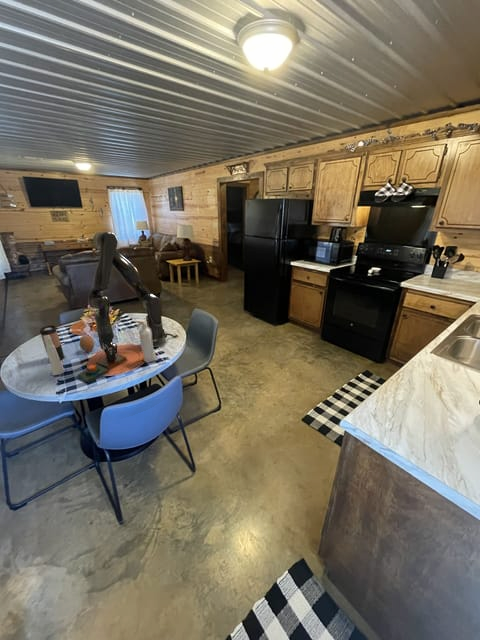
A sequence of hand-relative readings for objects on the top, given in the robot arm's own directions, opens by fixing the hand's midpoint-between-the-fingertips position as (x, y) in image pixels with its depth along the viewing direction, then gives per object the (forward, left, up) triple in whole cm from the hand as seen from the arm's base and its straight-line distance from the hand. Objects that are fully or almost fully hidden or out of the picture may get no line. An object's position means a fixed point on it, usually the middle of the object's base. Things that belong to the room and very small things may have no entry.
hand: (110, 357), depth 148 cm
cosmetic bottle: (+20, -17, -4) cm, 27 cm away
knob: (0, 0, -1) cm, 1 cm away
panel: (0, 0, -4) cm, 4 cm away
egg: (-2, -25, -4) cm, 25 cm away
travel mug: (+13, -32, -4) cm, 35 cm away
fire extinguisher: (-14, +16, -4) cm, 21 cm away
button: (+12, +2, 0) cm, 13 cm away
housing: (+12, +2, -4) cm, 13 cm away
